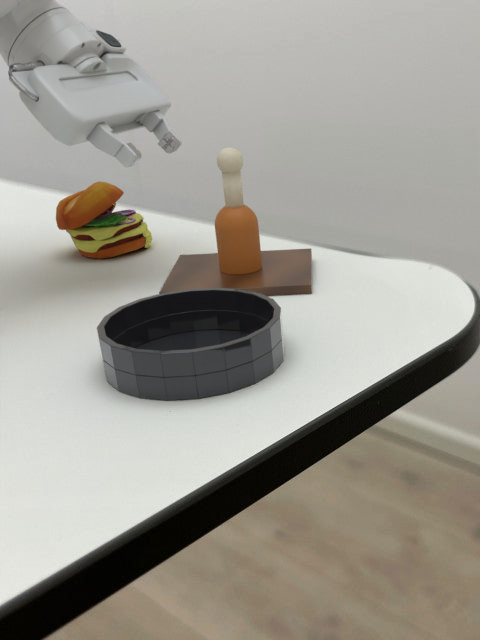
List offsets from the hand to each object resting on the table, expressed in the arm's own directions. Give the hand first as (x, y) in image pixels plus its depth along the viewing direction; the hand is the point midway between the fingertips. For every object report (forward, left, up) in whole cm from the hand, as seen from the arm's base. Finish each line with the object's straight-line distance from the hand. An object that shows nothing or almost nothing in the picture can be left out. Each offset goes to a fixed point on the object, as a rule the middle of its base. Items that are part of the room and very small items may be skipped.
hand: (156, 155), depth 84 cm
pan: (+6, -25, -14) cm, 30 cm away
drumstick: (+8, -2, -13) cm, 15 cm away
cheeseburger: (-11, +14, -14) cm, 23 cm away
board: (+8, -2, -14) cm, 16 cm away
